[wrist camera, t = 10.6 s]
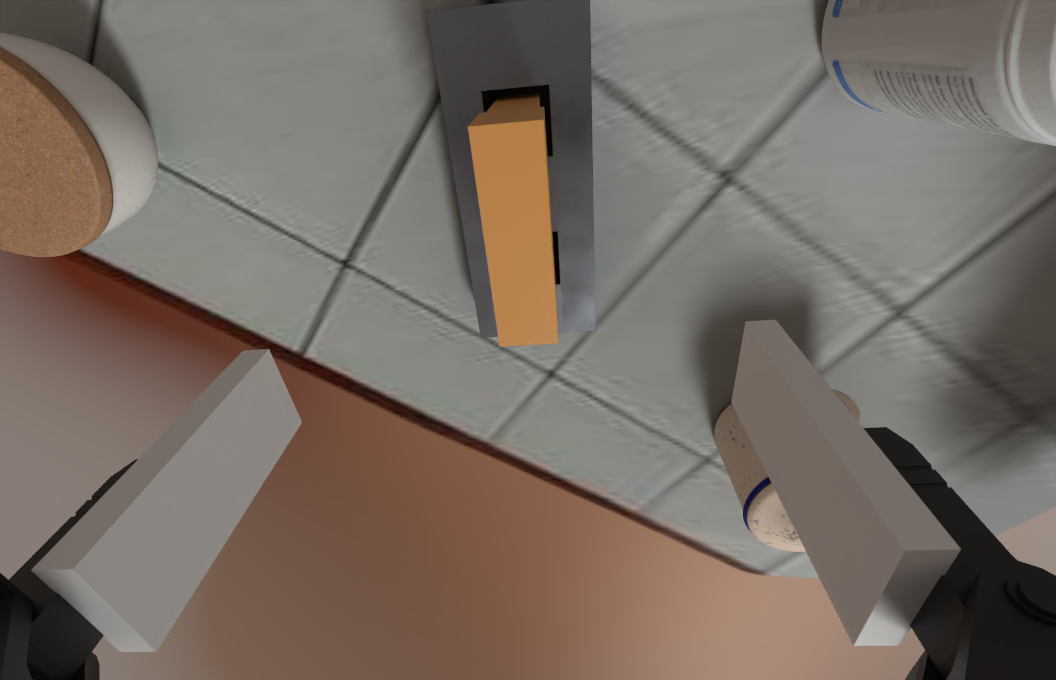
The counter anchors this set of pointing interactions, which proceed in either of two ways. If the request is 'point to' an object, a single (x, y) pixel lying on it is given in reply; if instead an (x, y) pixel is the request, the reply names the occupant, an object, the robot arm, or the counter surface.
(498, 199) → the orange clip
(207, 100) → the counter surface
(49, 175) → the lidded jar
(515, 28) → the graphite rail
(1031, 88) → the supplement tub
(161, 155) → the counter surface
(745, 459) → the teacup with lid
